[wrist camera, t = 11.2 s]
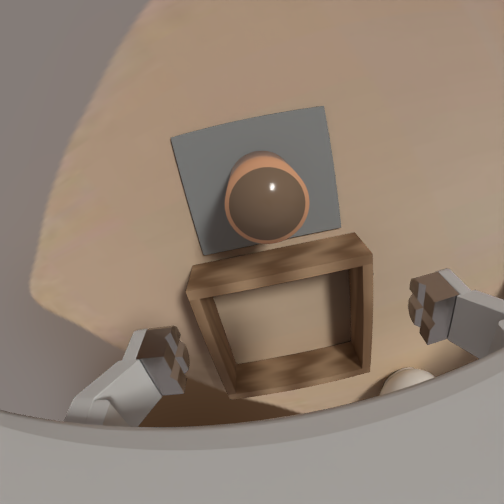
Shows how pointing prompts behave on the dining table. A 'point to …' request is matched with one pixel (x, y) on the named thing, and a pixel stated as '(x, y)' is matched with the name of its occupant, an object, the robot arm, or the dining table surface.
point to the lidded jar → (405, 379)
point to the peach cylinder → (265, 198)
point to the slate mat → (249, 140)
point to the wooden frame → (275, 272)
